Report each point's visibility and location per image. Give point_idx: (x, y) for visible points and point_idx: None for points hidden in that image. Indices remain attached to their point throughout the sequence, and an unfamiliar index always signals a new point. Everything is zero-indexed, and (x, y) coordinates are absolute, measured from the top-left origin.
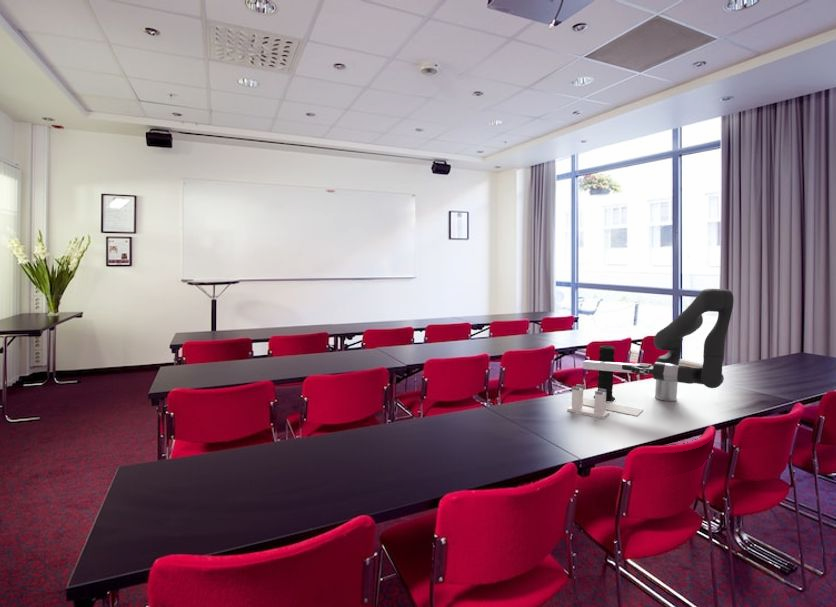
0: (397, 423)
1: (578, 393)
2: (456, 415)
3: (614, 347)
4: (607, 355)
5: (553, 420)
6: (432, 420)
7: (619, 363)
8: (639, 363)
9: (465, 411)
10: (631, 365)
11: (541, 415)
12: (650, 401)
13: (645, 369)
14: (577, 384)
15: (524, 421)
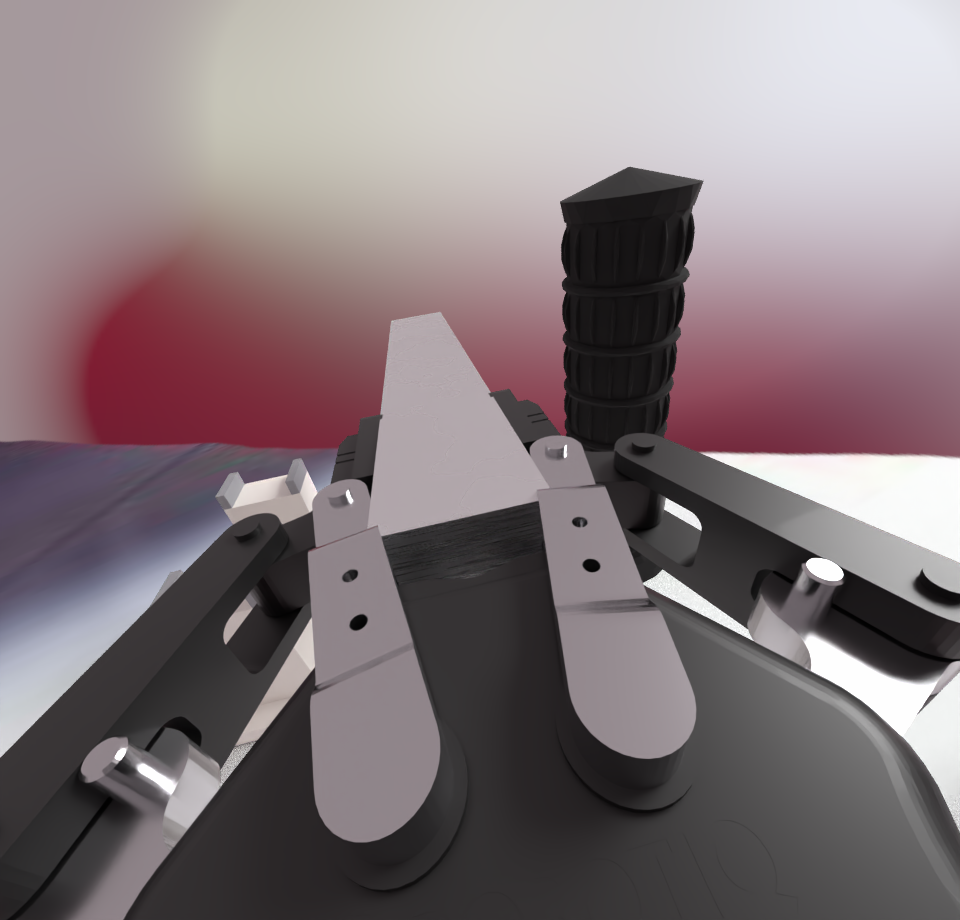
0: (8, 445)
1: (232, 521)
2: (99, 455)
3: (694, 183)
4: (583, 275)
5: (114, 600)
6: (43, 456)
7: (430, 383)
8: (661, 453)
9: (142, 446)
10: (377, 472)
11: (173, 544)
12: (944, 747)
13: (168, 857)
14: (294, 462)
15: (75, 553)
